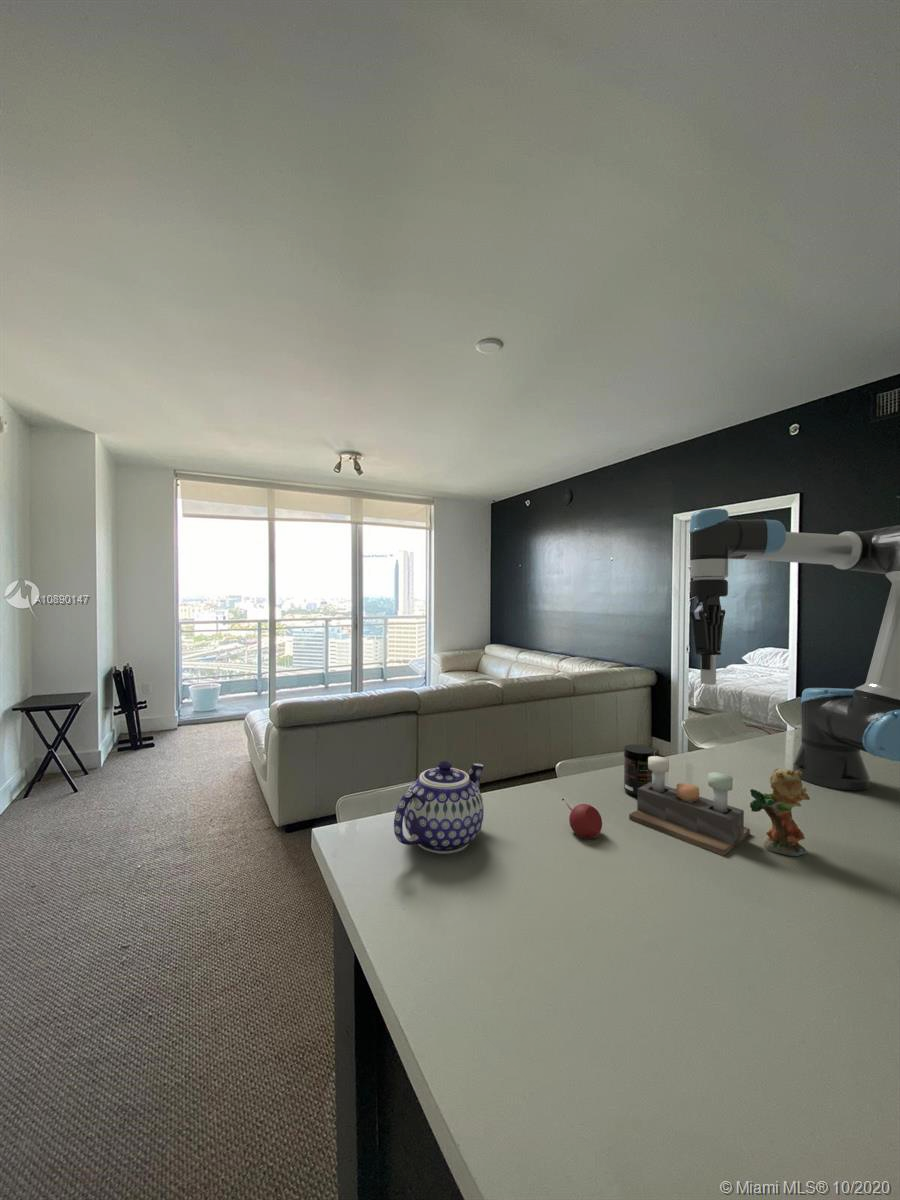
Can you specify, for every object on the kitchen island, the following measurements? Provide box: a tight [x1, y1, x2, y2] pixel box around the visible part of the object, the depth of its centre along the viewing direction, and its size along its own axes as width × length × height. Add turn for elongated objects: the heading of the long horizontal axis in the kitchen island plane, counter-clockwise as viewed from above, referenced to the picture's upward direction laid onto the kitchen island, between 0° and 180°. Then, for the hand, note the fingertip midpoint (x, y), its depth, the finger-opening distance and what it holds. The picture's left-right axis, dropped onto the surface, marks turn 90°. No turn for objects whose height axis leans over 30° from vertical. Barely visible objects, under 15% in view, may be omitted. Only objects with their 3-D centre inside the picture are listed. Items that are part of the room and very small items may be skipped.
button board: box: [628, 782, 751, 857], centre depth 94 cm, size 12×18×6 cm
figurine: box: [749, 767, 811, 857], centre depth 86 cm, size 9×8×15 cm
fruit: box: [561, 798, 603, 839], centre depth 92 cm, size 6×6×8 cm
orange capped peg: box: [676, 782, 700, 804], centre depth 94 cm, size 4×4×6 cm
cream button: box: [648, 755, 670, 793], centre depth 99 cm, size 4×4×6 cm
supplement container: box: [623, 744, 656, 798], centre depth 110 cm, size 7×7×10 cm
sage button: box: [707, 771, 733, 813], centre depth 89 cm, size 4×4×6 cm
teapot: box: [393, 760, 485, 855], centre depth 88 cm, size 25×15×15 cm, turn 138°
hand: (708, 683), depth 106 cm, fingers closed
